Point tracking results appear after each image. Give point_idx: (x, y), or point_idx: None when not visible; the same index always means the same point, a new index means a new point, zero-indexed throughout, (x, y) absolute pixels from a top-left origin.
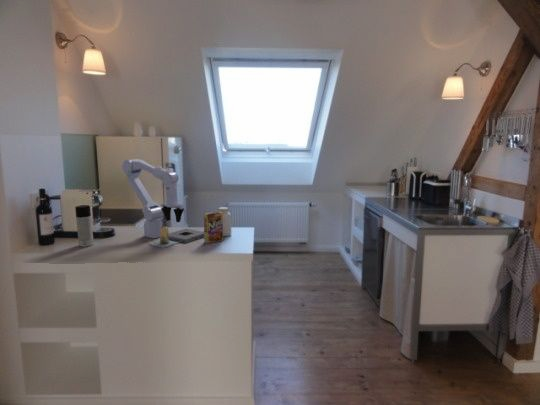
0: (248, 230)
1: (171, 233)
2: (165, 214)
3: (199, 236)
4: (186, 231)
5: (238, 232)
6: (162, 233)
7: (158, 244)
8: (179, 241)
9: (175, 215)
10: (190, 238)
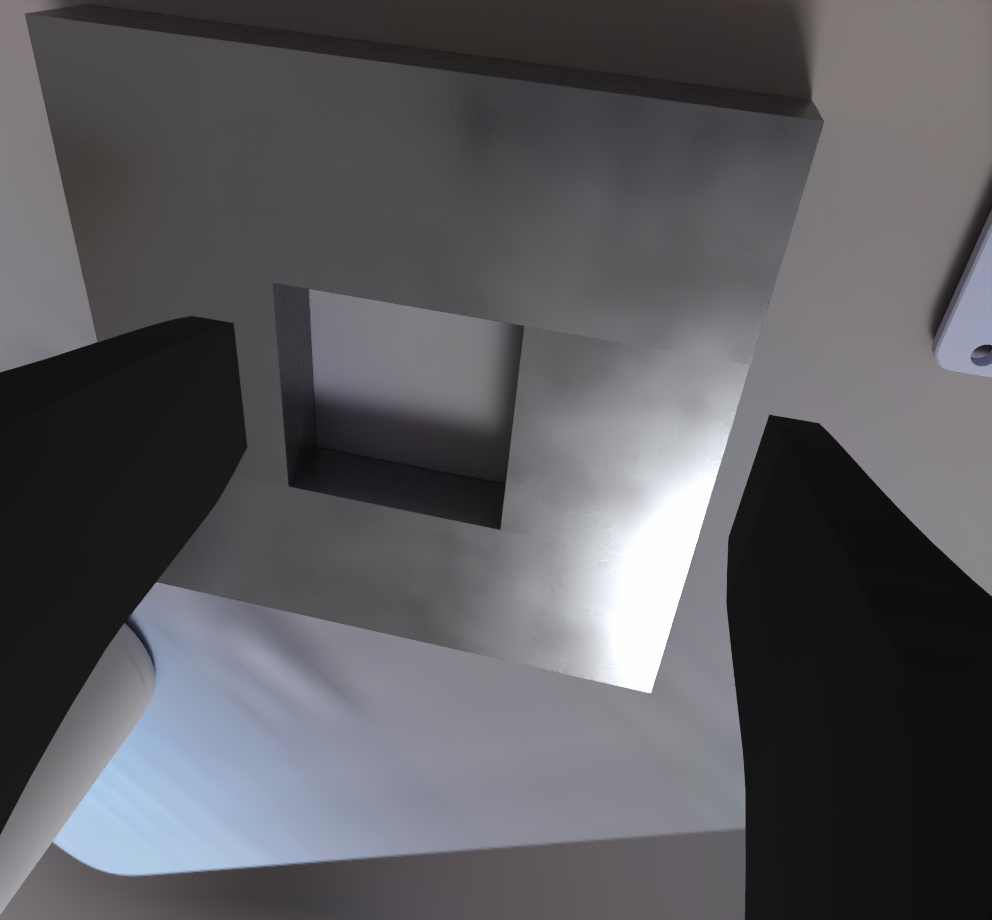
0: None
1: (707, 325)
2: (863, 572)
3: None
4: (503, 547)
5: None
6: None
7: None
8: (269, 30)
9: (5, 417)
10: (71, 176)
